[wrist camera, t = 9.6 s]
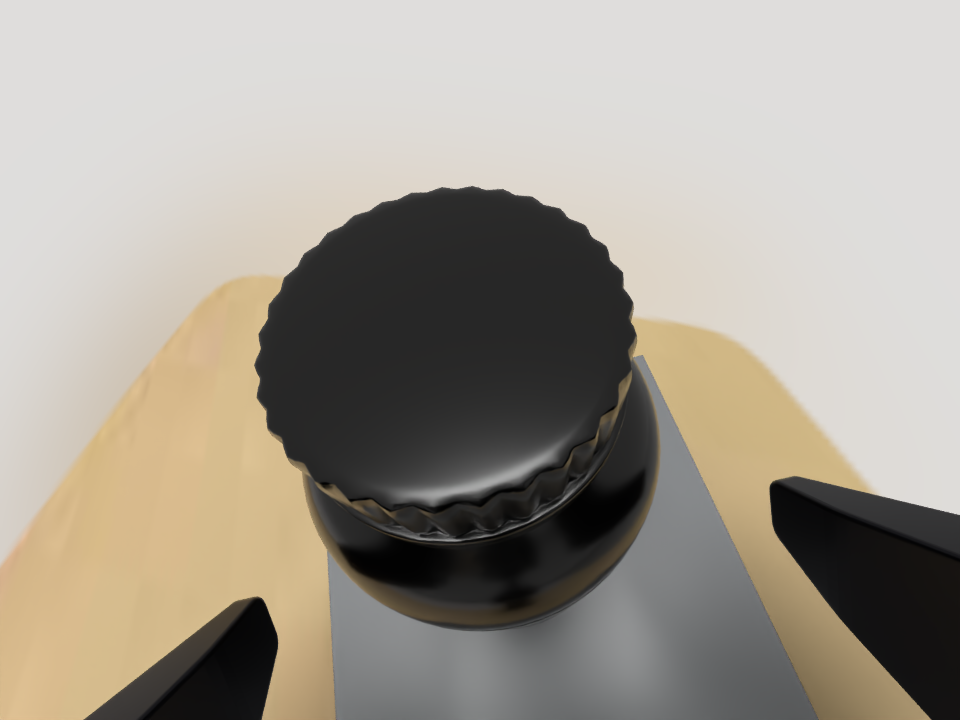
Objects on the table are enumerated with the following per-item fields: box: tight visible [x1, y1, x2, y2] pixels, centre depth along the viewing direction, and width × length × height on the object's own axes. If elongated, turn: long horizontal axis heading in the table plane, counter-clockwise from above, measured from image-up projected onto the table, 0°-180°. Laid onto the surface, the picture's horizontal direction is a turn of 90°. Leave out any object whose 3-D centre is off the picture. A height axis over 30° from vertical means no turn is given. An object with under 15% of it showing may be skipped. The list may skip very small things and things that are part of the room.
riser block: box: [327, 355, 819, 720], centre depth 16 cm, size 16×13×3 cm
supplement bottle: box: [254, 186, 661, 631], centre depth 11 cm, size 7×7×12 cm
